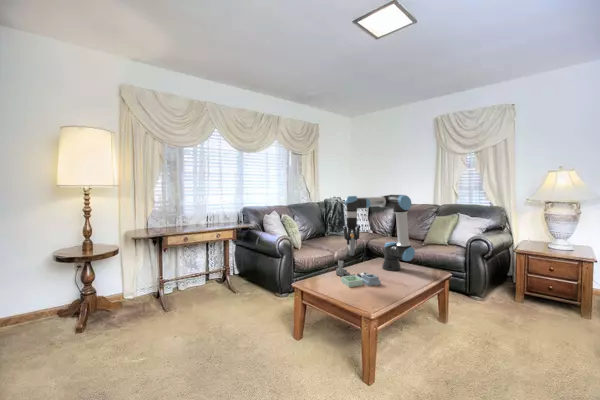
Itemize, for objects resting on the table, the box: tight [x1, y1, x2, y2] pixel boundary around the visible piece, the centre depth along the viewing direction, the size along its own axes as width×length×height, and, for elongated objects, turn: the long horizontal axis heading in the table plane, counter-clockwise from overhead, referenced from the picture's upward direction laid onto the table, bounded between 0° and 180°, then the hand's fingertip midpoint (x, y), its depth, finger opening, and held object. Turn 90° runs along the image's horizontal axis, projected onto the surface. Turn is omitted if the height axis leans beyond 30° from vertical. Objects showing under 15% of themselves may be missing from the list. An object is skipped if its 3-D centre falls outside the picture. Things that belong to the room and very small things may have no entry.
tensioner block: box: [356, 272, 381, 287], centre depth 219 cm, size 17×11×6 cm, turn 19°
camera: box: [335, 259, 356, 277], centre depth 232 cm, size 9×12×15 cm
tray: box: [340, 274, 364, 288], centre depth 215 cm, size 12×12×4 cm
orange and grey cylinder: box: [348, 233, 355, 256], centre depth 213 cm, size 4×4×15 cm
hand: (351, 248), depth 213 cm, fingers closed on orange and grey cylinder, 3 cm apart
